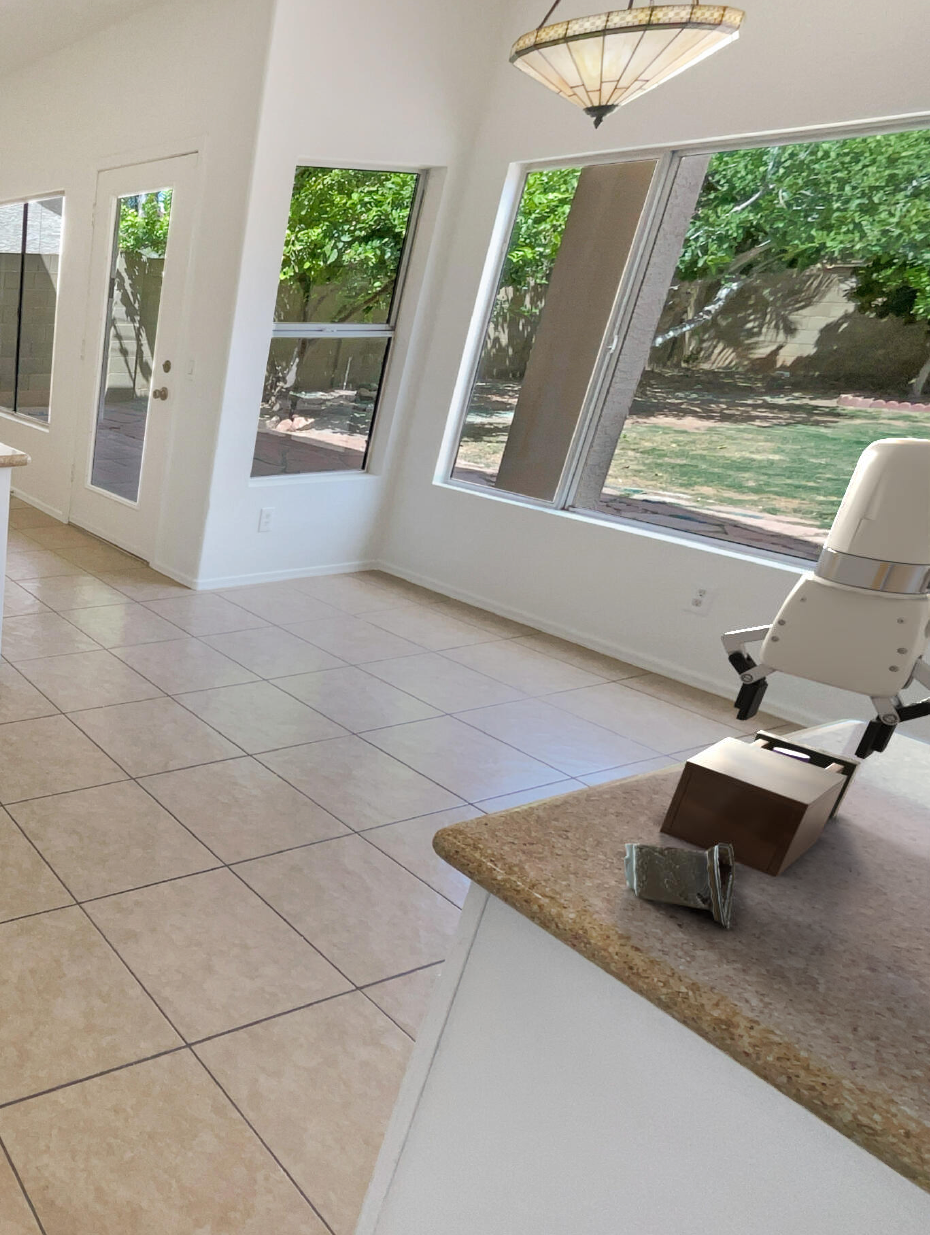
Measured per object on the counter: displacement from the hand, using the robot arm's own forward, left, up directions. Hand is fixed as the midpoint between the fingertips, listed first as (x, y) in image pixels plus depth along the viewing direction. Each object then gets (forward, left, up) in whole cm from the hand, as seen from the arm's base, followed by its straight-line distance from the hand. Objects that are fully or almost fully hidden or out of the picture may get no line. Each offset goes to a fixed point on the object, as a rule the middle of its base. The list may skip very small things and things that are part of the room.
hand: (802, 734), depth 85 cm
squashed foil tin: (+17, +15, -10) cm, 25 cm away
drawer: (-2, -1, -9) cm, 9 cm away
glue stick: (0, 0, -8) cm, 8 cm away
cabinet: (+6, +5, -10) cm, 13 cm away
